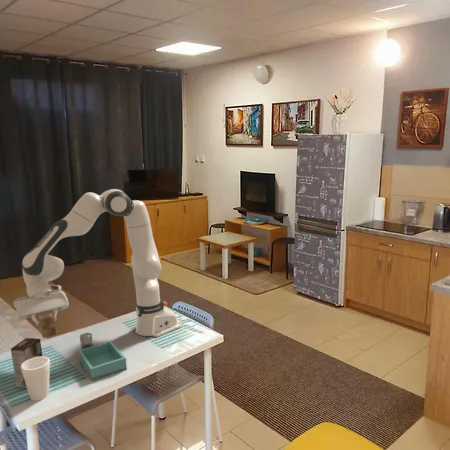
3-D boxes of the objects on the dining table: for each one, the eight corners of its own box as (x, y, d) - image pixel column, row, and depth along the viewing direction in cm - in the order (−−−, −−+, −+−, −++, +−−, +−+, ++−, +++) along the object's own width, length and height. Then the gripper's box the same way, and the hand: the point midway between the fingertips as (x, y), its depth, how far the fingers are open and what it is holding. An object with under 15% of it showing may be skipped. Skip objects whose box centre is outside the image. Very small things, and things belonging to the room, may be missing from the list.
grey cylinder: (91, 348, 187) (89, 331, 185) (94, 352, 183) (93, 335, 181) (80, 351, 184) (78, 334, 183) (83, 356, 180) (81, 339, 179)
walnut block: (53, 330, 176) (51, 312, 175) (56, 334, 172) (53, 316, 171) (40, 333, 174) (38, 315, 172) (43, 338, 170) (40, 319, 168)
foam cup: (51, 400, 150) (47, 367, 147) (23, 405, 147) (18, 372, 145) (54, 385, 159) (50, 354, 156) (27, 390, 156) (23, 358, 154)
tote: (112, 351, 184) (111, 341, 183) (126, 369, 169) (125, 358, 168) (79, 361, 176) (78, 350, 175) (91, 380, 161) (90, 369, 160)
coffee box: (31, 374, 167) (26, 337, 164) (45, 375, 166) (40, 338, 163) (15, 387, 159) (10, 348, 155) (30, 388, 157) (25, 349, 154)
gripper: (12, 296, 171) (19, 326, 165) (64, 284, 181) (72, 313, 175) (12, 302, 175) (19, 333, 169) (63, 291, 186) (71, 319, 180)
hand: (46, 322), depth 172 cm, fingers closed on walnut block, 5 cm apart
